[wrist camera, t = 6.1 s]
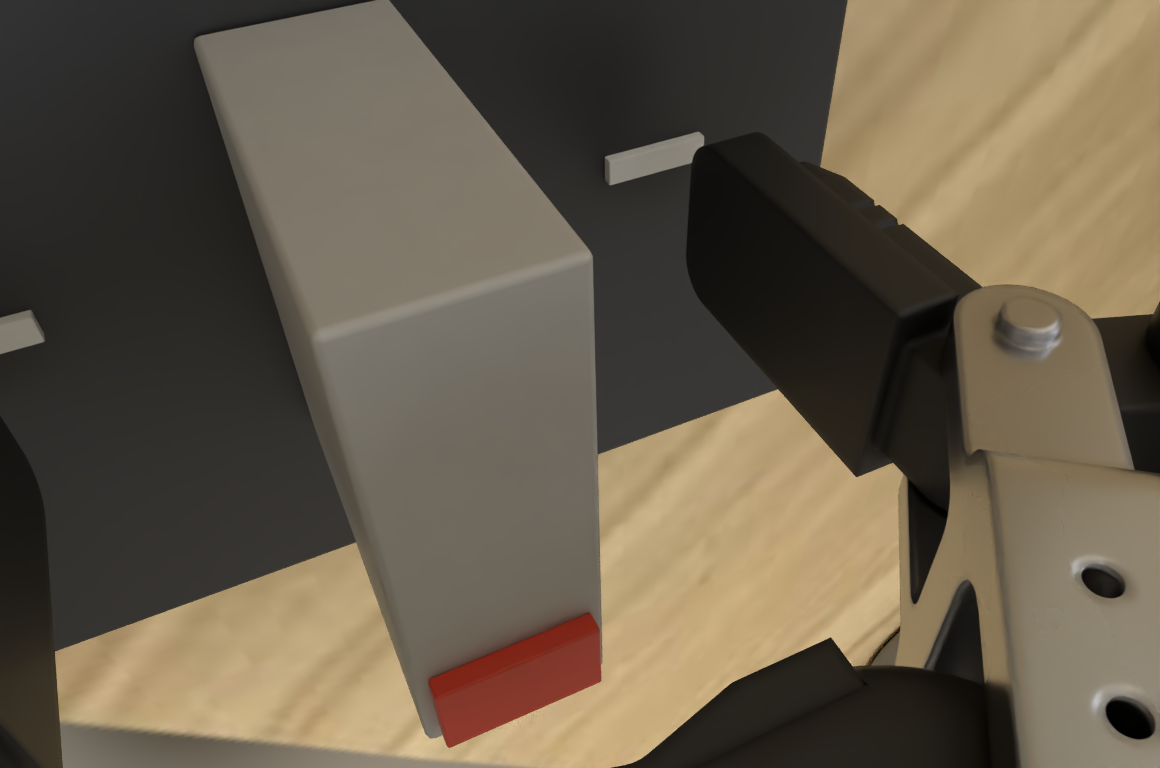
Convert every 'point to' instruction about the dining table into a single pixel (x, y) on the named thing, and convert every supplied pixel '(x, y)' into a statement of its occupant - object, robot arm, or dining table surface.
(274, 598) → the dining table surface
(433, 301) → the grey block
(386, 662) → the dining table surface
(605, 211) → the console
